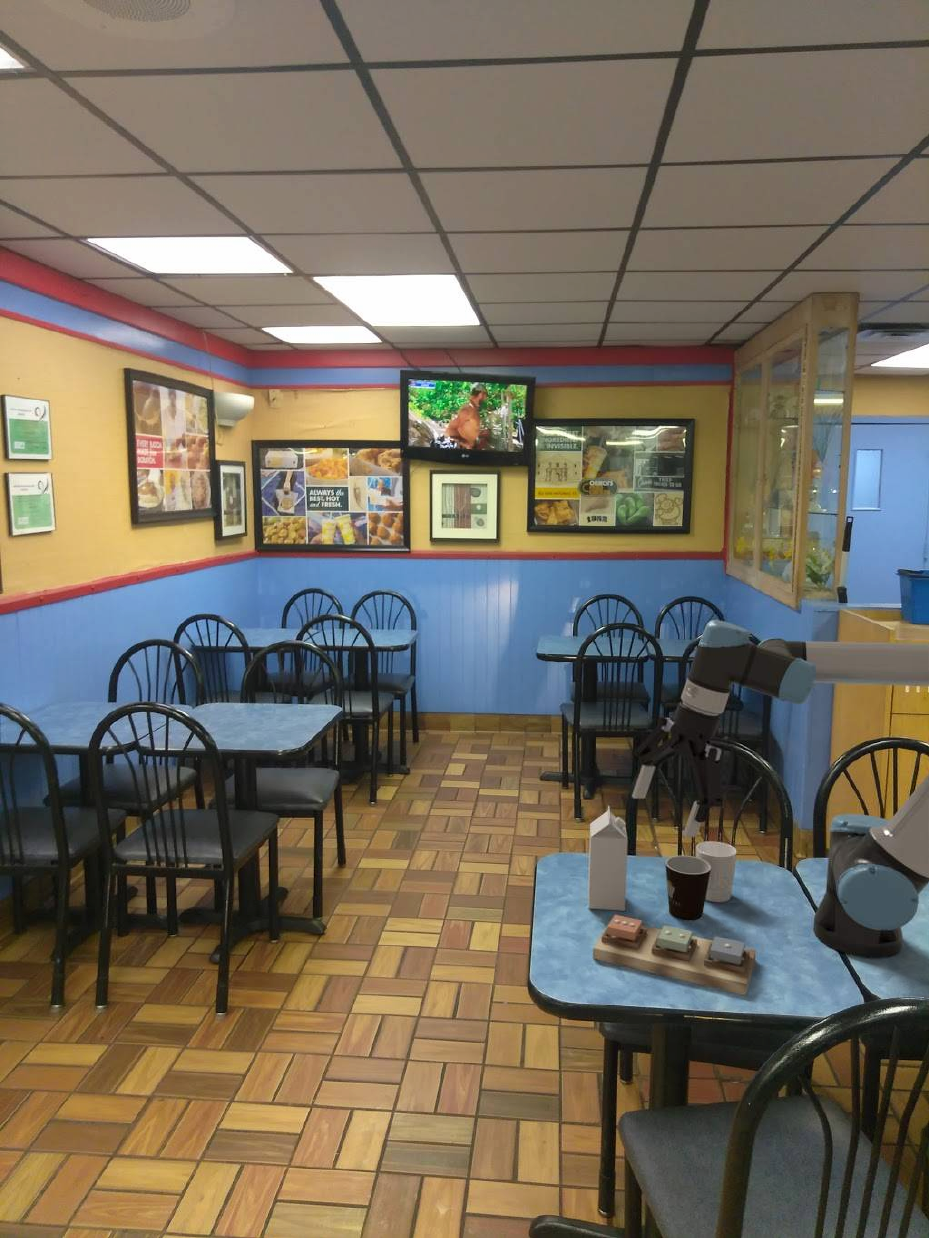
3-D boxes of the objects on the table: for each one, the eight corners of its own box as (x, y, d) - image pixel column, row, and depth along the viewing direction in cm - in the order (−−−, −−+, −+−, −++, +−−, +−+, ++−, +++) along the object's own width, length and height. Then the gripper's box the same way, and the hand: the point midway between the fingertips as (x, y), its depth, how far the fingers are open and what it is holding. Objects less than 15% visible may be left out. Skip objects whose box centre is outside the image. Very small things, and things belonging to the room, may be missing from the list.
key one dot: (744, 950, 152) (745, 941, 152) (740, 964, 148) (740, 955, 148) (714, 944, 155) (715, 935, 154) (709, 957, 150) (710, 948, 150)
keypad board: (755, 960, 155) (756, 944, 155) (745, 995, 145) (746, 978, 144) (611, 928, 166) (612, 913, 166) (592, 958, 156) (593, 942, 155)
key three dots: (641, 928, 160) (642, 919, 160) (634, 940, 156) (635, 931, 155) (614, 922, 162) (615, 913, 162) (607, 934, 158) (607, 925, 157)
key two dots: (691, 939, 156) (692, 930, 156) (686, 952, 152) (686, 943, 151) (663, 933, 158) (664, 924, 158) (657, 945, 154) (657, 936, 154)
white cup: (706, 905, 176) (708, 858, 174) (687, 888, 183) (689, 842, 182) (741, 901, 178) (744, 854, 176) (721, 884, 185) (723, 839, 184)
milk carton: (588, 909, 174) (591, 817, 171) (587, 893, 181) (590, 804, 178) (625, 911, 173) (628, 819, 170) (622, 895, 180) (626, 806, 177)
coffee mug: (709, 925, 168) (712, 876, 166) (663, 920, 169) (665, 871, 168) (705, 898, 179) (708, 851, 178) (662, 894, 181) (664, 847, 179)
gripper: (638, 679, 162) (604, 783, 166) (739, 737, 141) (697, 854, 146) (667, 681, 166) (633, 783, 170) (769, 739, 146) (727, 852, 150)
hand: (662, 816), depth 158 cm, fingers open, 13 cm apart
